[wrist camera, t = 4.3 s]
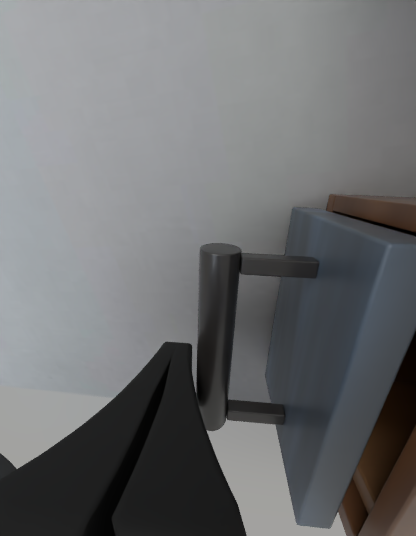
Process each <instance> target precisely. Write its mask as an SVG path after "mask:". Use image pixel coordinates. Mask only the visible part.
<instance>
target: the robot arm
mask: <svg viewBox="0 0 416 536" xmlns="http://www.w3.org/2000/svg"><path fill="white" fill-rule="evenodd" d="M0 536H246V532H245V528H244V525H243V522H242V518H241V515H240V512H239V507H238V504H237V502H236V500H235V498H234V496H233V494H232V492H231V490H230V488H229V486H228V483H227V481H226V479H225V476H224V474H223V472H222V470H221V467H220V465H219V463H218V460H217V458H216V455H215V452H214V450H213V447H212V444H211V442H210V440H209V436H208V434H207V431H206V428H205V425H204V422H203V419H202V415H201V412H200V408H199V405H198V401H197V396H196V392H195V387H194V382H193V376H192V345H191V344H189V343H176V342H165V343H164V344H163V345H162V346H161V348H160V349H159V350H158V352H157V353H156V354H155V355H154V357H153V358H152V359H151V360H150V361H149V363H148V364H147V365H146V366H145V367H144V368H143V369H142V370H141V372H140V373H139V374H138V375H137V376H136V377H135V378H134V379H133V380H132V381H131V382H130V383H129V384H128V385H127V386H126V387H125V388H124V389H123V390H122V391H121V392H120V393H119V394H118V395H117V396H116V397H115V398H114V399H113V400H112V401H111V402H109V403H108V404H107V405H106V406H105V407H104V408H103V409H101V410H100V411H99V412H98V413H97V414H95V415H94V416H93V417H92V418H90V419H89V420H88V421H87V422H86V423H84V424H83V425H82V426H80V427H79V428H78V429H76V430H75V431H74V432H72V433H71V434H70V435H68V436H67V437H65V438H64V439H62V440H61V441H60V442H58V443H57V444H55V445H54V446H53V447H51V448H50V449H48V450H47V451H45V452H44V453H42V454H41V455H39V456H38V457H36V458H35V459H33V460H31V461H30V462H28V463H26V464H25V465H23V466H22V467H20V468H18V469H17V470H15V471H13V472H12V473H10V474H9V475H7V476H5V477H4V478H2V479H0Z"/></svg>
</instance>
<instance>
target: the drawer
mask: <svg viewBox="0 0 416 536" xmlns="http://www.w3.org/2000/svg"><path fill="white" fill-rule="evenodd" d="M241 252H242V251H241V249H240V248H239V247H237V246H234V245H230V244H223V243H212V244H206V245H203V246H201V247H200V261H199V303H198V344H197V385H196V396H197V401H198V405H199V408H200V412H201V415H202V419H203V422H204V425H205V428H206V430H208V431H215V430H218V429H220V428H221V427H222V426H223V425H224V423H225V421H226V415H227V420H233V421H243V422H255V423H265V424H276V429H277V434H278V439H279V443H280V448H281V453H282V458H283V462H284V467H285V472H286V477H287V482H288V486H289V491H290V495H291V500H292V505H293V510H294V515H295V519H296V523H297V525H301V526H310V527H319V528H328V529H329V528H331V526H332V524H333V521H334V519H335V517H336V514H337V512H338V510H339V507H340V505H341V503H342V501H343V498H344V496H345V494H346V491H347V489H348V487H349V484H350V482H351V480H352V477H353V480H354V482H355V484H356V487H357V489H358V491H359V493H360V496H361V498H362V500H363V503H364V505H365V507H366V510H367V512H368V514H369V513H370V511H371V509H372V507H373V505H374V503H375V501H376V500H377V498H378V496H379V494H380V492H381V490H382V488H383V486H384V484H385V482H386V480H387V479H388V477H389V475H390V473H391V471H392V469H393V467H394V465H395V463H396V461H397V459H398V458H399V456H400V454H401V452H402V450H403V448H404V446H405V444H406V442H407V440H408V438H409V436H410V435H411V433H412V431H413V429H414V427H415V425H416V233H414V232H411V231H407V230H403V229H399V228H396V227H392V226H388V225H373V224H370V223H367V222H363V221H360V220H356V219H353V218H349V217H346V216H342V215H339V214H335V213H332V212H329V211H325V210H322V209H318V208H300V207H294V208H293V209H292V214H291V220H290V226H289V233H288V239H287V245H286V251H285V255H268V254H249V253H241ZM240 273H241V274H245V275H262V276H279V277H281V281H280V288H279V294H278V300H277V306H276V312H275V318H274V324H273V330H272V336H271V343H270V349H269V355H268V361H267V367H266V373H265V377H266V381H267V386H268V391H269V396H270V401H271V403H262V402H250V401H239V400H228V393H229V382H230V372H231V361H232V350H233V339H234V328H235V317H236V307H237V296H238V285H239V274H240Z"/></svg>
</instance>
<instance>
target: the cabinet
mask: <svg viewBox="0 0 416 536" xmlns="http://www.w3.org/2000/svg"><path fill="white" fill-rule="evenodd" d="M326 211H329V212H332V213H335V214H339V215H342V216H346V217H349V218H353V219H356V220H360V221H363V222H367V223H370V224H373V225H388V226H392V227H396V228H399V229H403V230H407V231H411V232H414V233H416V198H410V197H385V196H361V195H336V194H331V195H330V196H329V200H328V205H327V209H326ZM338 512H339V515H340V518H341V521H342V524H343V527H344V530H345V532H346V535H347V536H416V425H415V427H414V429H413V431H412V433H411V435H410V436H409V438H408V440H407V442H406V444H405V446H404V448H403V450H402V452H401V454H400V456H399V458H398V459H397V461H396V463H395V465H394V467H393V469H392V471H391V473H390V475H389V477H388V479H387V480H386V482H385V484H384V486H383V488H382V490H381V492H380V494H379V496H378V498H377V500H376V501H375V503H374V505H373V507H372V509H371V511H370V513H369V514H368V512H367V510H366V507H365V505H364V503H363V500H362V498H361V496H360V493H359V491H358V489H357V487H356V484H355V482H354V480H353V477H352V480H351V482H350V484H349V487H348V489H347V491H346V494H345V496H344V498H343V501H342V503H341V505H340V507H339V510H338Z"/></svg>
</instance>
